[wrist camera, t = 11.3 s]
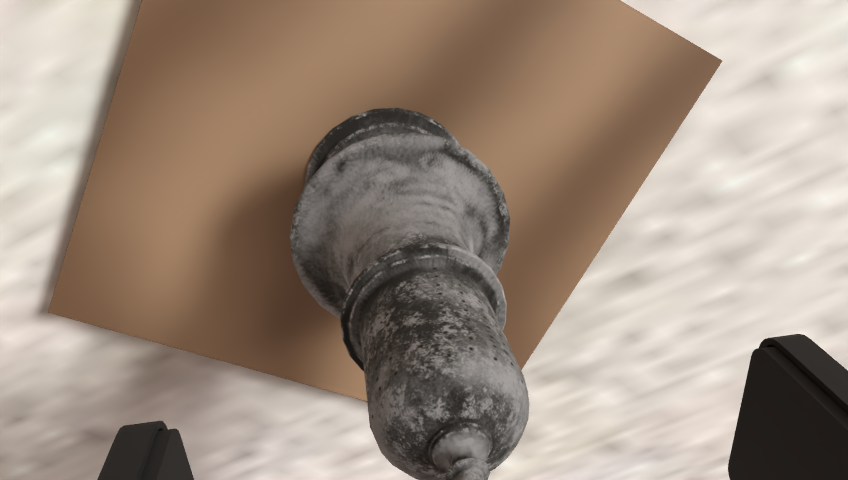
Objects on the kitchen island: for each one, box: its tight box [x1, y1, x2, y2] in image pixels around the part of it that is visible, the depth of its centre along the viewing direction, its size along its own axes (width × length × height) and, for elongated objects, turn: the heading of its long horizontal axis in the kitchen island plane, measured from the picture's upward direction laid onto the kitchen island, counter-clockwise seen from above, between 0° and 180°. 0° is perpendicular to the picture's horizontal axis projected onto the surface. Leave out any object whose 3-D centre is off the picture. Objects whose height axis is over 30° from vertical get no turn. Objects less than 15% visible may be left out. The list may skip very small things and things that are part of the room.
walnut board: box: [48, 0, 722, 401], centre depth 20 cm, size 16×16×1 cm
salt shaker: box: [290, 108, 529, 480], centre depth 14 cm, size 6×6×12 cm
